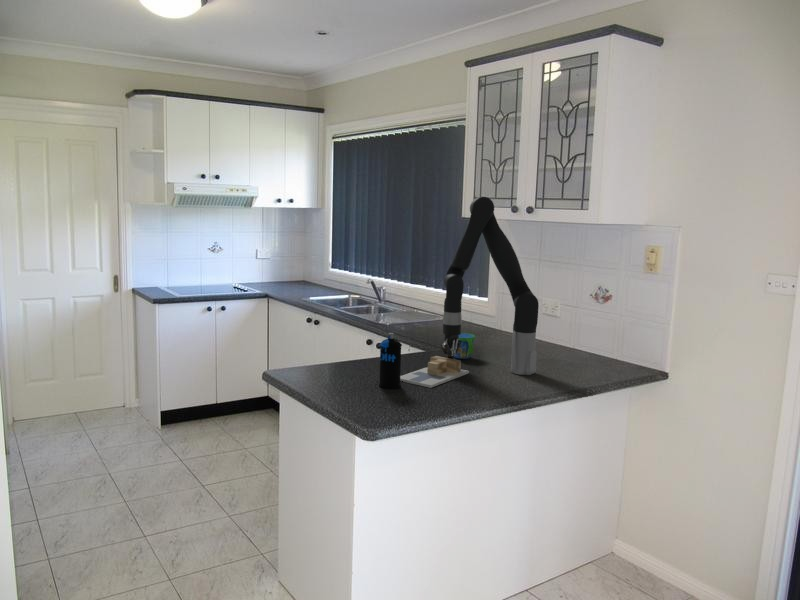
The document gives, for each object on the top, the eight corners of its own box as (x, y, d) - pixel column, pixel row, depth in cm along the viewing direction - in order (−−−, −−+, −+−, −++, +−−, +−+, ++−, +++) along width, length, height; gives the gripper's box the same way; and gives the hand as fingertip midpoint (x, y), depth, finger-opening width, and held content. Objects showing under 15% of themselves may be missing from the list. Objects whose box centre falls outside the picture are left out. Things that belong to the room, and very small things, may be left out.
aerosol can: (388, 381, 252) (389, 330, 249) (405, 385, 246) (406, 333, 244) (374, 385, 245) (375, 333, 242) (391, 390, 240) (392, 336, 237)
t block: (435, 366, 273) (435, 355, 272) (460, 371, 266) (461, 360, 265) (418, 371, 263) (419, 360, 263) (444, 377, 256) (444, 366, 256)
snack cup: (480, 361, 289) (481, 338, 287) (457, 362, 285) (458, 339, 284) (466, 353, 303) (467, 331, 302) (444, 354, 300) (445, 332, 299)
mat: (468, 373, 267) (468, 370, 267) (430, 387, 245) (430, 385, 245) (435, 366, 277) (435, 364, 276) (395, 380, 254) (395, 377, 254)
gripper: (451, 326, 261) (449, 368, 264) (468, 321, 272) (466, 362, 274) (435, 323, 265) (434, 365, 268) (452, 319, 276) (451, 359, 279)
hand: (450, 364), depth 271 cm, fingers closed
